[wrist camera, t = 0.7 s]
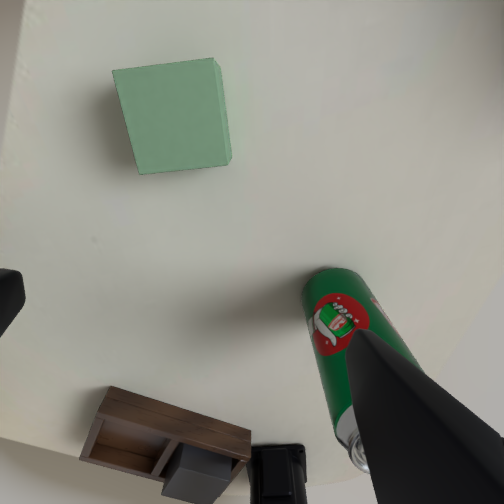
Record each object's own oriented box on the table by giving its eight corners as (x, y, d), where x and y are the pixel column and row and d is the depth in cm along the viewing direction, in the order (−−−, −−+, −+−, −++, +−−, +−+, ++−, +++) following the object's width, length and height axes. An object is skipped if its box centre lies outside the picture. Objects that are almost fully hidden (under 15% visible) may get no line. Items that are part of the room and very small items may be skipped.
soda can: (361, 317, 24) (447, 481, 13) (299, 319, 24) (336, 484, 14) (368, 262, 22) (478, 406, 11) (300, 265, 22) (345, 410, 11)
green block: (232, 157, 19) (228, 165, 16) (156, 165, 19) (138, 174, 16) (220, 66, 17) (213, 57, 14) (135, 77, 17) (111, 70, 14)
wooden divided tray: (251, 430, 31) (251, 477, 27) (221, 469, 34) (217, 517, 30) (110, 385, 28) (87, 430, 24) (92, 432, 31) (68, 480, 27)
